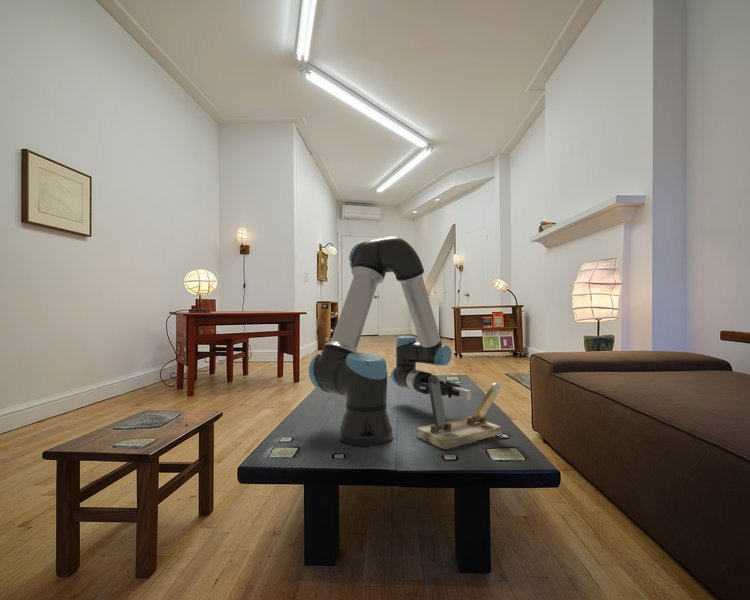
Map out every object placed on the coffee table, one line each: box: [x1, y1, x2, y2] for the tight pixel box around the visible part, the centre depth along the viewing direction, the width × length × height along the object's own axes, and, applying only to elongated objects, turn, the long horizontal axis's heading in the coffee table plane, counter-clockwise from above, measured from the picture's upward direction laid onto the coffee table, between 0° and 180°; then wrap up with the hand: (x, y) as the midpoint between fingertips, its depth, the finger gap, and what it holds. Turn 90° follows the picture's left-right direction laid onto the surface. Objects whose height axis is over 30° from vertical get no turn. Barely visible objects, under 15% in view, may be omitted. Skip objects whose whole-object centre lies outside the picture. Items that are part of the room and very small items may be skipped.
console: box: [415, 415, 503, 449], centre depth 107 cm, size 12×22×4 cm, turn 122°
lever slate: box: [428, 374, 447, 430], centre depth 105 cm, size 3×3×15 cm
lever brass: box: [471, 382, 502, 422], centre depth 108 cm, size 3×3×15 cm
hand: (468, 395), depth 114 cm, fingers closed
